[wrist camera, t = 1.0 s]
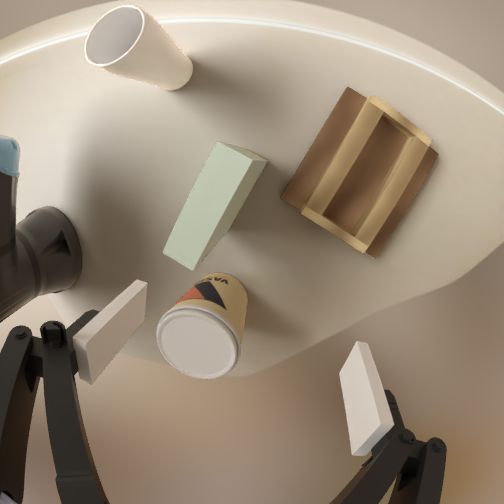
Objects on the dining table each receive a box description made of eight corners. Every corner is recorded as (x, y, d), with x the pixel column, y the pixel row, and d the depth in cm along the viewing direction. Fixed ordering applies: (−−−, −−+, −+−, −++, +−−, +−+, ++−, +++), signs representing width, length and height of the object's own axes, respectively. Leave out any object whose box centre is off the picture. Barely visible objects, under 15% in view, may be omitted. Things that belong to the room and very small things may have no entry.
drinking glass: (147, 95, 32) (74, 70, 18) (159, 50, 30) (96, 9, 15) (192, 98, 31) (132, 66, 17) (205, 52, 29) (156, -1, 15)
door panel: (208, 218, 36) (162, 252, 23) (246, 149, 33) (217, 141, 20) (228, 230, 36) (192, 271, 23) (267, 161, 33) (252, 160, 20)
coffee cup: (238, 257, 37) (216, 299, 26) (263, 317, 39) (252, 374, 28) (178, 277, 39) (138, 320, 28) (205, 332, 41) (179, 385, 30)
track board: (280, 197, 34) (279, 201, 31) (345, 88, 29) (351, 80, 25) (372, 255, 35) (380, 265, 31) (434, 154, 29) (448, 154, 26)
